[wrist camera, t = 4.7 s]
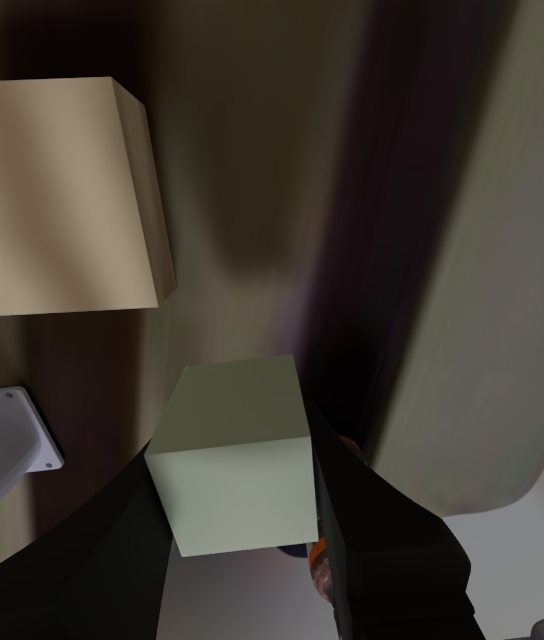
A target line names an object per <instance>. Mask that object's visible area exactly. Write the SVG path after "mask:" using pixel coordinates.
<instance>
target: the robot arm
mask: <svg viewBox="0 0 544 640" xmlns="http://www.w3.org/2000/svg"><path fill="white" fill-rule="evenodd" d="M10 393H11V394H10ZM303 404H304V408H305V413H306V417H307V422H308V426H309V431H310V435H311V447H312V461H313V474H314V488H315V499H316V502H317V506H318V510H319V514H320V519H321V523H322V528H323V534H324V539H325V545H326V550H327V556H328V562H329V567H330V573H331V578H332V584H333V590H334V596H335V601H336V607H337V613H338V619H339V624H340V630H341V636H342V640H486V639H485V637H484V635H483V633H482V631H481V629H480V628H479V626H478V624H477V622H476V620H475V618H474V616H473V615H474V613H475V610H474V607H473V605H472V603H471V602H470V600H469V598H468V596H467V594H466V592H465V591H466V587H467V583H468V580H469V576H470V572H471V562H470V560H469V558H468V556H467V554H466V553H465V551H464V549H463V548H462V546H461V544H460V543H459V541H458V540H457V539H456V537H455V536H454V535H453V533H452V532H451V530H450V529H449V528H448V526H447V525H446V524H445V522H444V521H443V520H442V519H441V518H440V517H438V516H436V515H435V514H433V513H431V512H430V511H428V510H427V509H425V508H423V507H422V506H420V505H419V504H417V503H415V502H414V501H412V500H411V499H409V498H408V497H407V496H405V495H404V494H402V493H401V492H400V491H398V490H397V489H396V488H394V487H393V486H392V485H390V484H389V483H388V482H387V481H385V480H384V479H383V478H382V477H380V476H379V475H378V474H377V473H375V472H374V471H373V470H372V469H371V468H370V467H369V466H367V465H366V464H365V463H364V462H363V461H362V460H361V459H360V458H359V457H358V456H357V455H356V454H355V453H354V452H353V451H352V450H351V449H350V448H349V447H348V446H347V445H346V444H345V443H344V441H343V440H342V439H341V438H340V437H339V436H338V435H337V433H336V432H335V431H334V430H333V428H332V427H331V426H330V425H329V423H328V422H327V421H326V419H325V418H324V416H323V415H322V414H321V412H320V411H319V409H318V407H317V406H316V404H315V402H314V401H313V400H312V399H311V400H303ZM151 439H152V438H151ZM151 439H150V440H149V442H148V443H147V444H146V445H145V446H144V447H143V448H142V449H141V451H140V452H139V453H138V454H137V455H136V456H135V457H134V458H133V459H132V460H131V461H130V462H129V463H128V464H127V465H126V466H125V467H124V468H123V469H122V470H121V471H120V472H119V473H118V474H117V475H116V476H115V477H114V478H113V479H112V480H111V481H110V482H109V483H108V484H107V485H105V486H104V487H103V488H102V489H101V490H100V491H99V492H98V493H96V494H95V495H94V496H93V497H92V498H91V499H89V500H88V501H87V502H86V503H84V504H83V505H82V506H81V507H79V508H78V509H77V510H76V511H74V512H73V513H72V514H71V515H69V516H68V517H67V518H66V519H64V520H63V521H62V522H60V523H59V524H57V525H56V526H55V527H53V528H52V529H51V530H49V531H48V532H46V533H45V534H44V535H42V536H41V537H39V538H38V539H36V540H35V541H34V542H32V543H31V544H29V545H28V546H26V547H25V548H23V549H22V550H20V551H18V552H17V553H15V554H14V555H12V556H11V557H9V558H8V559H6V560H4V561H3V562H1V563H0V640H156V634H157V628H158V620H159V614H160V608H161V600H162V595H163V588H164V583H165V577H166V571H167V566H168V560H169V555H170V550H171V544H172V539H173V535H174V534H173V531H172V529H171V526H170V524H169V521H168V518H167V516H166V513H165V510H164V508H163V505H162V502H161V500H160V497H159V494H158V492H157V489H156V487H155V484H154V481H153V479H152V476H151V473H150V471H149V468H148V465H147V463H146V460H145V457H144V454H145V452H146V450H147V448H148V446H149V443H150V441H151ZM63 464H64V460H63V458H62V456H61V455H60V453H59V451H58V449H57V447H56V445H55V443H54V442H53V440H52V438H51V436H50V434H49V432H48V430H47V429H46V427H45V425H44V423H43V421H42V419H41V417H40V416H39V414H38V412H37V410H36V408H35V406H34V404H33V403H32V401H31V399H30V397H29V395H28V393H27V391H26V390H25V389H24V388H23V387H20V386H14V387H6V388H0V501H1V500H2V499H3V497H4V496H5V495H6V494H7V493H8V492H9V491H10V489H11V488H12V487H13V486H14V485H15V484H16V483H17V481H18V480H19V479H20V478H21V477H22V476H23V475H24V473H26V472H34V471H42V470H50V469H58V468H60V467H61V466H62V465H63ZM506 640H544V619H543V620H540V621H538V622H536V623H535V624H534V626H533V627H532V630H531V636H530V637H524V638H515V639H506Z"/></svg>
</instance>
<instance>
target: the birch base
mask: <svg viewBox="0 0 544 640" xmlns="http://www.w3.org/2000/svg"><path fill="white" fill-rule="evenodd" d="M176 289H177V287H176V281H175V275H174V270H173V264H172V258H171V253H170V247H169V241H168V236H167V230H166V224H165V219H164V213H163V207H162V202H161V196H160V190H159V185H158V179H157V173H156V168H155V162H154V156H153V151H152V145H151V139H150V134H149V128H148V122H147V117H146V111H145V106H144V105H143V104H142V103H141V102H139V101H138V100H137V99H136V98H135V97H134V96H133V95H131V94H130V93H129V92H128V91H127V90H126V89H124V88H123V87H122V86H121V85H120V84H119V83H118V82H116V81H115V80H114V79H113V78H112V77H90V78H63V79H36V80H10V81H0V316H4V315H22V314H40V313H59V312H77V311H96V310H114V309H132V308H151V307H159V306H160V305H161V304H162V303H163V302H164V301H165V300H166V299H167V298H168V297H169V296H170V295H171V294H172V293H173V292H174V291H175V290H176Z"/></svg>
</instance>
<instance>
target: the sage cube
mask: <svg viewBox="0 0 544 640" xmlns="http://www.w3.org/2000/svg"><path fill="white" fill-rule="evenodd" d="M144 457H145V460H146V463H147V465H148V468H149V471H150V473H151V476H152V479H153V481H154V484H155V487H156V489H157V492H158V494H159V497H160V500H161V502H162V505H163V508H164V510H165V513H166V516H167V518H168V521H169V524H170V526H171V529H172V531H173V534H174V537H175V539H176V542H177V545H178V547H179V550H180V553H181V555H182V557H185V556H195V555H204V554H212V553H221V552H230V551H239V550H247V549H256V548H264V547H274V546H282V545H291V544H300V543H308V542H317V541H318V528H317V515H316V501H315V488H314V474H313V461H312V447H311V435H310V431H309V426H308V422H307V417H306V413H305V408H304V404H303V399H302V395H301V390H300V386H299V381H298V377H297V372H296V368H295V363H294V359H293V355H292V354H291V355H282V356H274V357H265V358H257V359H248V360H239V361H231V362H222V363H214V364H205V365H196V366H188V367H185V368H184V370H183V372H182V374H181V376H180V378H179V381H178V383H177V385H176V387H175V389H174V391H173V394H172V396H171V398H170V400H169V402H168V404H167V407H166V409H165V411H164V413H163V415H162V417H161V420H160V422H159V424H158V426H157V428H156V430H155V433H154V435H153V437H152V439H151V441H150V443H149V446H148V448H147V450H146V452H145V454H144Z"/></svg>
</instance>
